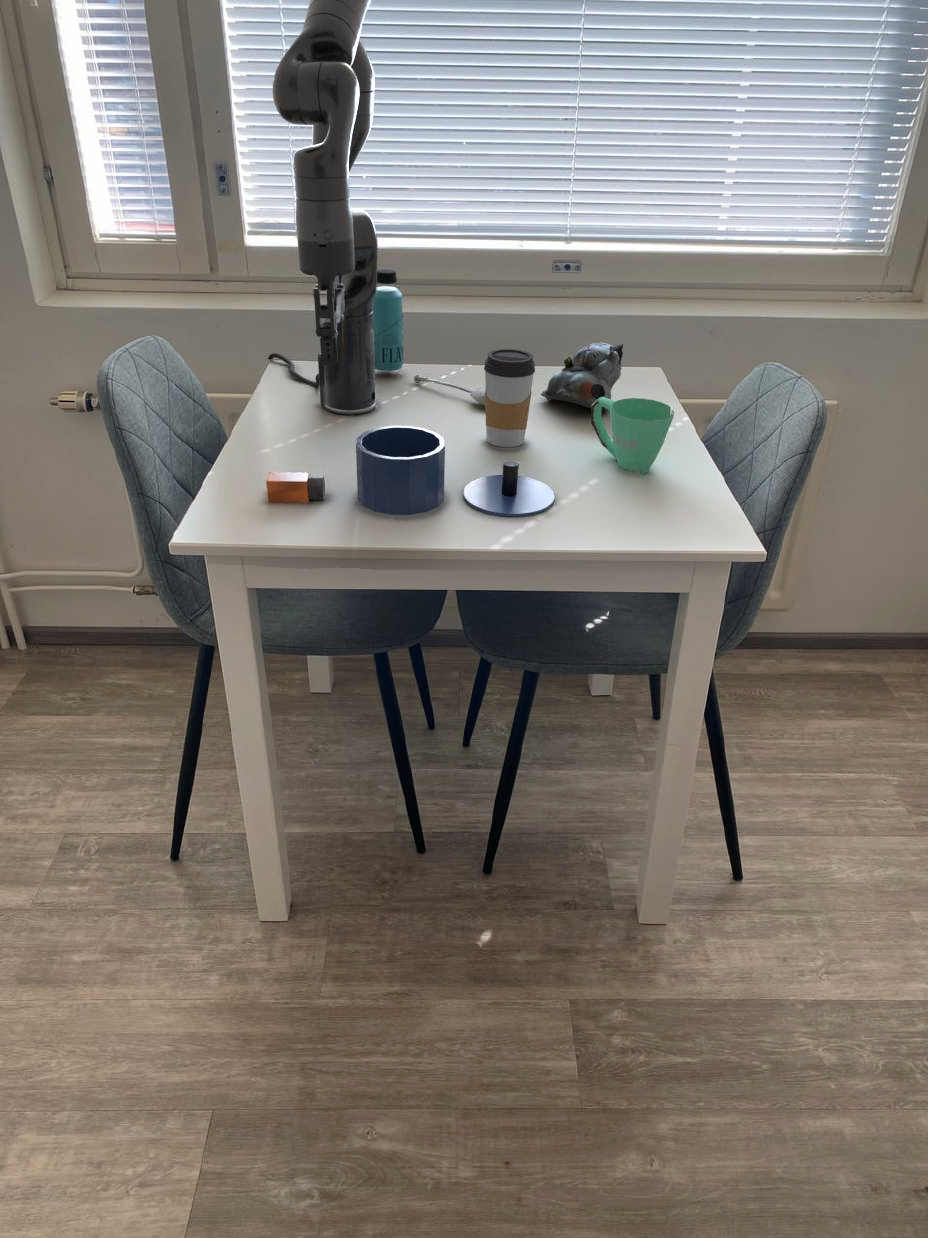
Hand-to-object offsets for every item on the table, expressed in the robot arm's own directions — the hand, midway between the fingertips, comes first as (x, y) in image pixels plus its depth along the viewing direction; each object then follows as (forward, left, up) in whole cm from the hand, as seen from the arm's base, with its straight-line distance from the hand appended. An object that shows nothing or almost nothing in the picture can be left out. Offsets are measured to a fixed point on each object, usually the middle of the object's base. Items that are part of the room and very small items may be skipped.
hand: (333, 355), depth 129 cm
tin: (+13, -2, -19) cm, 23 cm away
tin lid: (+26, +7, -18) cm, 32 cm away
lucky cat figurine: (+19, +51, -19) cm, 58 cm away
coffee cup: (+16, +26, -19) cm, 36 cm away
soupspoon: (-3, +43, -19) cm, 47 cm away
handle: (0, -10, -19) cm, 21 cm away
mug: (+36, +29, -19) cm, 50 cm away
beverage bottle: (-21, +46, -19) cm, 54 cm away
